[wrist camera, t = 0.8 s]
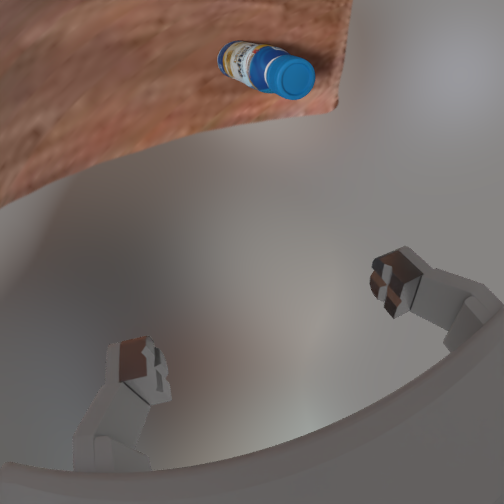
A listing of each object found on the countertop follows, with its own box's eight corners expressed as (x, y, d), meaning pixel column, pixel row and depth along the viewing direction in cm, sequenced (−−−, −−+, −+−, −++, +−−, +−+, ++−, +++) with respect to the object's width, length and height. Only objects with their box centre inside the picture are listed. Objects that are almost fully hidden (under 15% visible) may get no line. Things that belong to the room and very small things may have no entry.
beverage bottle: (238, 85, 48) (297, 116, 36) (206, 64, 42) (259, 86, 30) (263, 54, 44) (330, 75, 33) (233, 32, 38) (297, 40, 27)
